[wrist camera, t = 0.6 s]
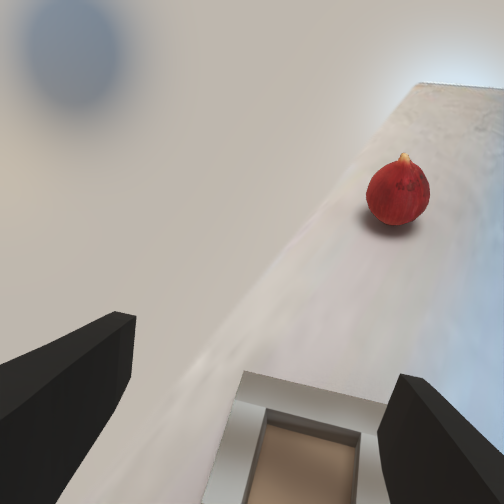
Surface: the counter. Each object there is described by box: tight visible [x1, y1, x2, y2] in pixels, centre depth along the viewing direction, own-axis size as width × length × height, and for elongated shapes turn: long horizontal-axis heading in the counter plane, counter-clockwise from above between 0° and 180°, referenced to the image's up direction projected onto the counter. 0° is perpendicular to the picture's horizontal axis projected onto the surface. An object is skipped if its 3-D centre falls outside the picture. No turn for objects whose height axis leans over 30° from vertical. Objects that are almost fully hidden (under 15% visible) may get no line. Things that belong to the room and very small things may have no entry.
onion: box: [366, 153, 430, 225], centre depth 37 cm, size 6×6×8 cm
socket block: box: [201, 371, 390, 504], centre depth 21 cm, size 11×10×4 cm
